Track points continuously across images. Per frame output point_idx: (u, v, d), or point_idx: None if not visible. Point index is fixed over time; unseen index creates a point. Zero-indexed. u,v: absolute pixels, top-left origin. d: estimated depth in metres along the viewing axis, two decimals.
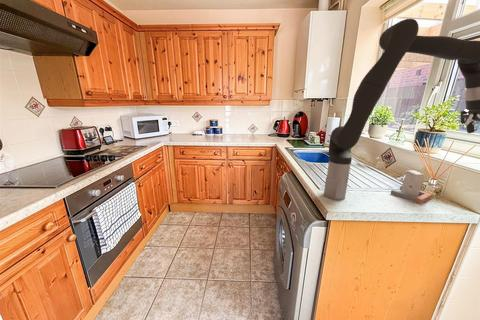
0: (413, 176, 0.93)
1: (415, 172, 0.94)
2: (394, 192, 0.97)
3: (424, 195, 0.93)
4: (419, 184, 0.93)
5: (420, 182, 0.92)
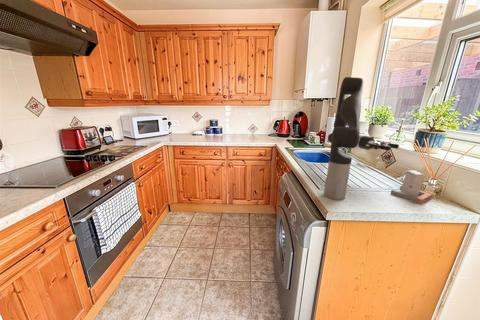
0: (413, 176, 0.93)
1: (415, 172, 0.94)
2: (394, 192, 0.97)
3: (424, 195, 0.93)
4: (419, 184, 0.93)
5: (420, 182, 0.92)
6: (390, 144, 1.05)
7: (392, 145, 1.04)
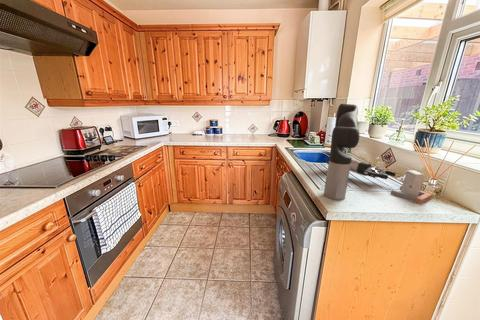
0: (413, 176, 0.93)
1: (415, 172, 0.94)
2: (394, 192, 0.97)
3: (424, 195, 0.93)
4: (419, 184, 0.93)
5: (420, 182, 0.92)
6: (387, 171, 1.08)
7: (389, 173, 1.07)
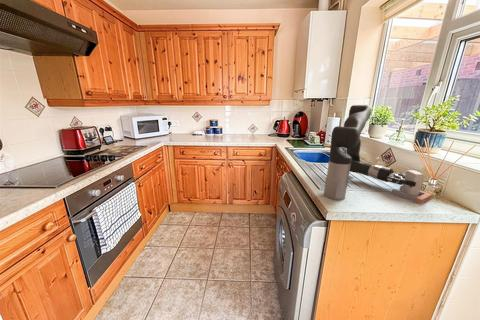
0: (413, 176, 0.93)
1: (415, 172, 0.94)
2: (394, 192, 0.97)
3: (424, 195, 0.93)
4: (419, 184, 0.93)
5: (420, 182, 0.92)
6: None
7: None
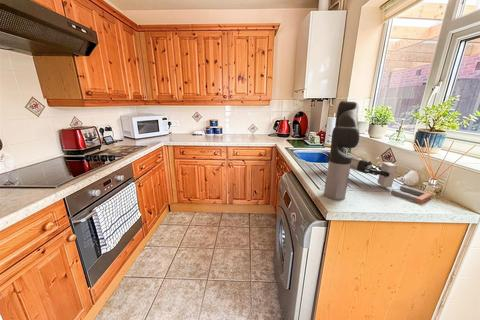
0: (387, 167, 1.01)
1: (389, 164, 1.02)
2: (394, 192, 0.97)
3: (424, 195, 0.93)
4: (393, 174, 1.01)
5: (393, 173, 1.01)
6: None
7: None
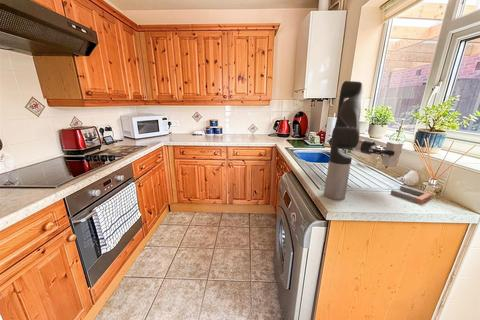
0: (392, 146, 0.98)
1: (394, 142, 0.99)
2: (394, 192, 0.97)
3: (424, 195, 0.93)
4: (397, 153, 0.98)
5: (398, 151, 0.98)
6: None
7: None
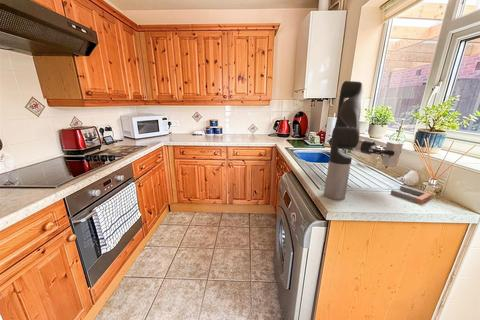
0: (392, 146, 0.98)
1: (394, 142, 0.99)
2: (394, 192, 0.97)
3: (424, 195, 0.93)
4: (397, 153, 0.98)
5: (398, 151, 0.98)
6: None
7: None
